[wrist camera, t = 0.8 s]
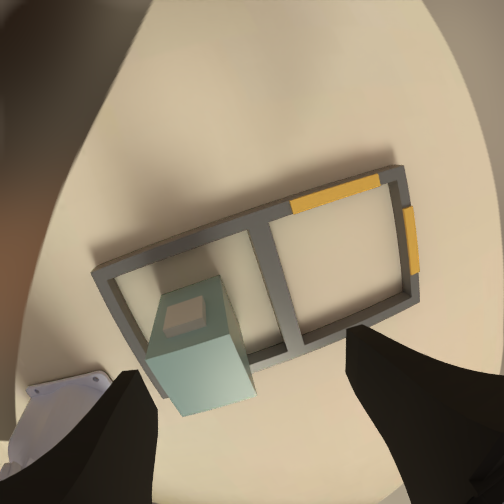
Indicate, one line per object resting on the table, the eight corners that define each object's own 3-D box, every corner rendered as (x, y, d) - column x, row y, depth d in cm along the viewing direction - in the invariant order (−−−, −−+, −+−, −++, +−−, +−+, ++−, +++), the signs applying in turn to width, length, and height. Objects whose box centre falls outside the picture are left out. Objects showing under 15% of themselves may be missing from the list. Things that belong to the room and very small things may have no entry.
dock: (164, 388, 21) (162, 400, 20) (96, 266, 18) (89, 273, 16) (411, 295, 22) (421, 303, 21) (393, 164, 19) (405, 165, 17)
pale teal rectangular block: (185, 344, 20) (182, 416, 14) (158, 288, 19) (139, 351, 12) (239, 326, 20) (257, 396, 14) (216, 267, 19) (225, 324, 12)
